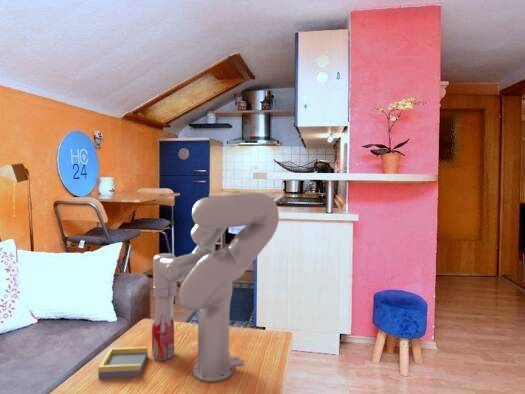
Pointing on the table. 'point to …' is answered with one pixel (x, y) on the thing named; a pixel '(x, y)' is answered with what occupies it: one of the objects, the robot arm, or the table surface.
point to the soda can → (162, 341)
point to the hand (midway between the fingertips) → (165, 343)
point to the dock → (123, 362)
